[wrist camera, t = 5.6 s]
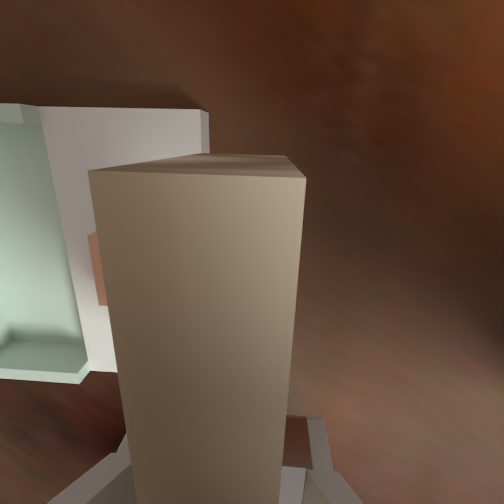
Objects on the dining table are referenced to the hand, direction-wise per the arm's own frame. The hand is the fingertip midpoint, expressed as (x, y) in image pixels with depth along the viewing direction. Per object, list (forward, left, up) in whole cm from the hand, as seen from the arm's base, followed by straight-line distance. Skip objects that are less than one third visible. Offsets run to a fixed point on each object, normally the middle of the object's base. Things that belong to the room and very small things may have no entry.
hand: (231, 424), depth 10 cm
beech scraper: (0, 0, -2) cm, 2 cm away
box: (+18, 0, -15) cm, 24 cm away
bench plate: (+9, 0, -15) cm, 17 cm away
